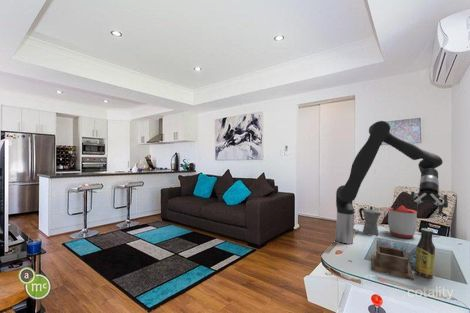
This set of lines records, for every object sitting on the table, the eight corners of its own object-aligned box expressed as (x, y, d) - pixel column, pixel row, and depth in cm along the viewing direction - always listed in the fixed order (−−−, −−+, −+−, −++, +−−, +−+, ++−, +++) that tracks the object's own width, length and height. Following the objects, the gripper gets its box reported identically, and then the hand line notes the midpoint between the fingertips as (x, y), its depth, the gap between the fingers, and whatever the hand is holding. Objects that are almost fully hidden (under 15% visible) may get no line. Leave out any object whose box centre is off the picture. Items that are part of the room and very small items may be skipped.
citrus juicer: (404, 231, 160) (405, 203, 160) (422, 240, 143) (423, 208, 143) (381, 230, 162) (382, 201, 162) (396, 238, 144) (396, 207, 144)
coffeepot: (384, 235, 150) (385, 208, 150) (375, 237, 146) (376, 209, 146) (363, 228, 164) (363, 203, 164) (354, 230, 160) (354, 204, 160)
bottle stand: (371, 269, 103) (372, 253, 103) (372, 257, 116) (372, 242, 116) (413, 280, 95) (414, 262, 95) (409, 265, 108) (409, 249, 108)
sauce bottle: (411, 271, 102) (412, 226, 102) (424, 271, 103) (425, 226, 103) (424, 279, 96) (425, 231, 96) (438, 279, 96) (439, 231, 96)
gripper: (411, 179, 121) (408, 204, 112) (448, 182, 112) (448, 209, 103) (411, 188, 125) (409, 213, 116) (447, 192, 116) (447, 218, 107)
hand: (427, 211), depth 110 cm, fingers open, 8 cm apart
